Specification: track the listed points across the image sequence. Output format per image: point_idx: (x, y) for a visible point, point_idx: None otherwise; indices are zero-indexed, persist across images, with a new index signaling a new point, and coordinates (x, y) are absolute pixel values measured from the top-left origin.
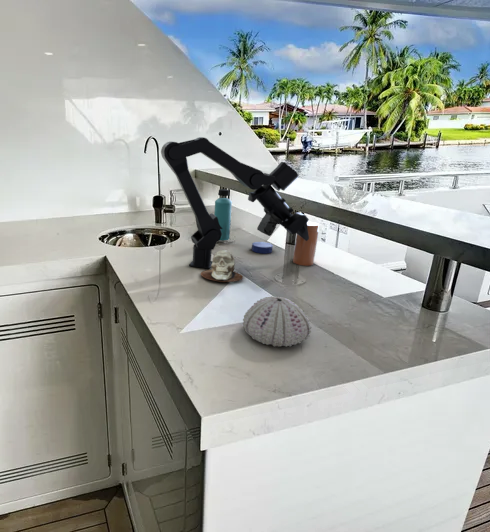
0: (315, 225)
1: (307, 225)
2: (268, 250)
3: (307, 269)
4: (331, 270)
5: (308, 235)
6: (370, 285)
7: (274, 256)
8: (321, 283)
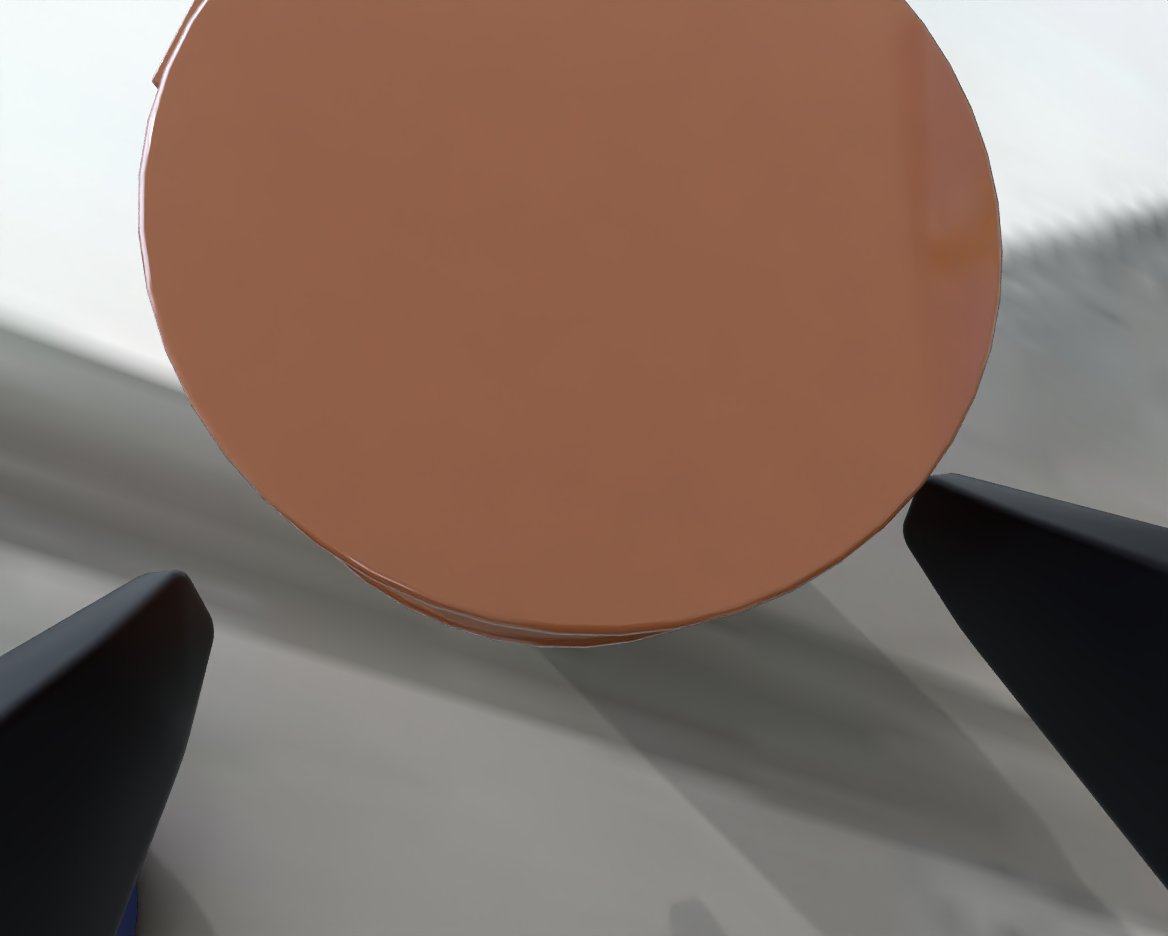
0: (953, 81)
1: (965, 406)
2: None
3: None
4: None
5: (1068, 508)
6: (1116, 123)
7: (281, 787)
8: None
